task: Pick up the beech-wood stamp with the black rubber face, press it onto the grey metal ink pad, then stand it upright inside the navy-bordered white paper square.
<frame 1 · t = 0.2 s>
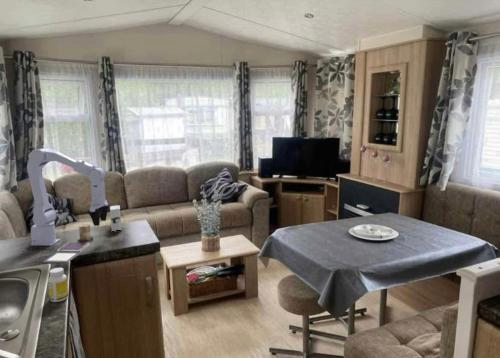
hand: (100, 222, 170), 10 cm above the kitchen counter, fingers open, 7 cm apart
ink pad: (74, 248, 165), on the kitchen counter
stamp: (85, 241, 173), on the kitchen counter
supplement bottle: (59, 299, 120), on the kitchen counter
marked square: (62, 257, 154), on the kitchen counter
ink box: (116, 229, 193), on the kitchen counter
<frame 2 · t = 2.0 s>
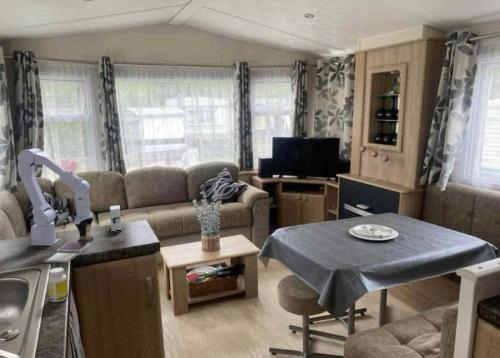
hand: (85, 234, 173), 3 cm above the kitchen counter, fingers closed on stamp, 3 cm apart
stamp: (85, 241, 173), on the kitchen counter, touching gripper
everything else where it was.
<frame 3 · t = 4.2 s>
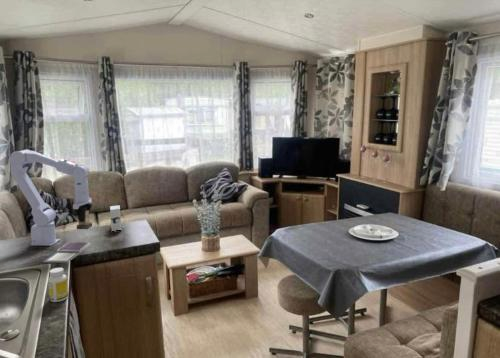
hand: (84, 220, 172), 10 cm above the kitchen counter, fingers closed on stamp, 3 cm apart
stamp: (84, 227, 172), point 7 cm above the kitchen counter, touching gripper
everything else where it was.
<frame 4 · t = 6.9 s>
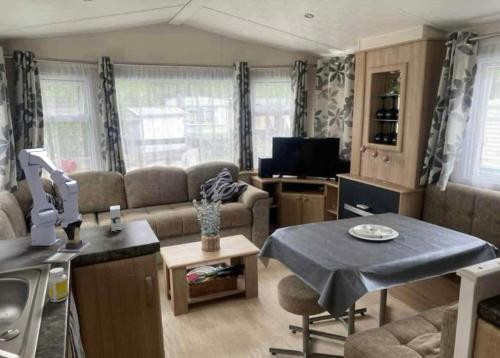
hand: (73, 238, 164), 5 cm above the kitchen counter, fingers closed on stamp, 3 cm apart
stamp: (74, 245, 164), point 1 cm above the kitchen counter, touching gripper, ink pad
everything else where it was.
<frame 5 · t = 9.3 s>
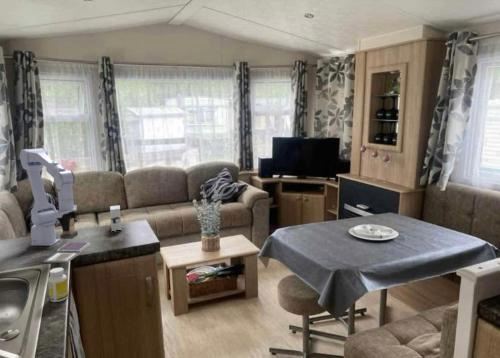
hand: (68, 229, 159), 10 cm above the kitchen counter, fingers closed on stamp, 3 cm apart
stamp: (69, 236, 160), point 7 cm above the kitchen counter, touching gripper
everything else where it was.
when the fingers open (4 cm above the kitchen counter, at t = 11.8 s): stamp stays where it is, resting on marked square.
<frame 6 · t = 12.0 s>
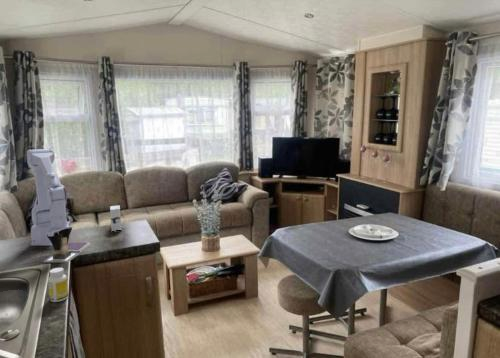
hand: (61, 247, 154), 4 cm above the kitchen counter, fingers open, 5 cm apart
stamp: (62, 256, 154), resting on marked square
everything else where it was.
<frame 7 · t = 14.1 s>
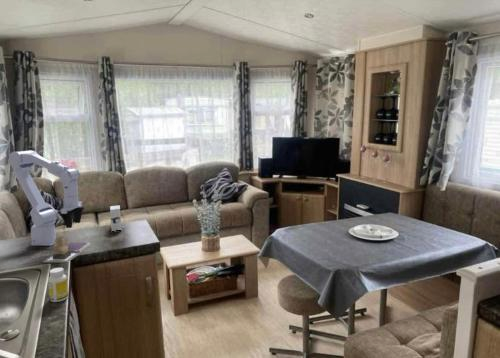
hand: (73, 225, 166), 10 cm above the kitchen counter, fingers open, 7 cm apart
nothing on the kitchen counter moved.
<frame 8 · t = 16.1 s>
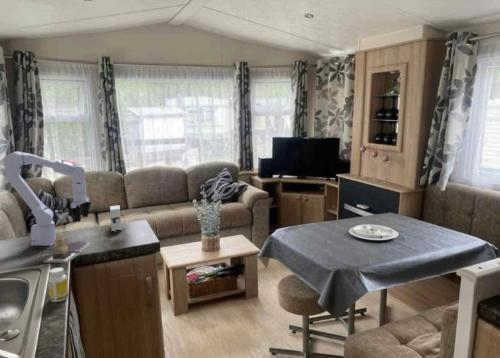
hand: (81, 219, 176), 10 cm above the kitchen counter, fingers open, 7 cm apart
nothing on the kitchen counter moved.
at the end: stamp 0.0 cm off-centre on the marked square, point 0.3 cm above the marked square's base; stamp tilted 0°; the gripper is holding nothing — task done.
